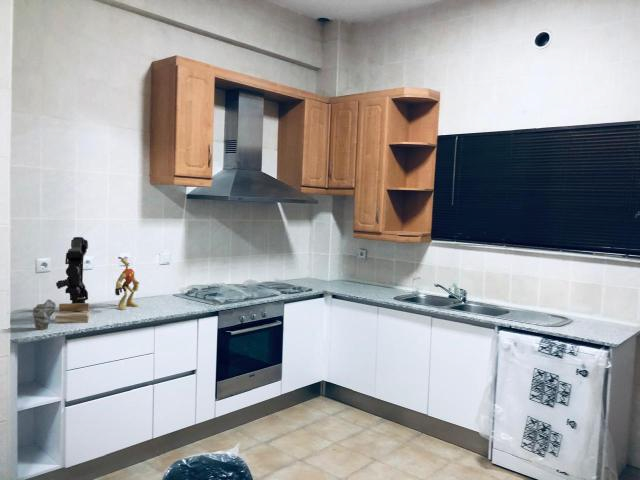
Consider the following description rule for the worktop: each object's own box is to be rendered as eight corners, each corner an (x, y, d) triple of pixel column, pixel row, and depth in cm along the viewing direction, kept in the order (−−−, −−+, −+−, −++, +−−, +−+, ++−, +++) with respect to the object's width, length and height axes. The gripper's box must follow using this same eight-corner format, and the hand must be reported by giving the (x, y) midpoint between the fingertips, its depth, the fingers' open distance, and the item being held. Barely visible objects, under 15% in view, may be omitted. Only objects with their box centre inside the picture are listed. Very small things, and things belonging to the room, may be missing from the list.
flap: (59, 311, 278) (59, 310, 279) (88, 310, 282) (88, 310, 283) (59, 304, 277) (59, 303, 277) (88, 303, 281) (88, 303, 282)
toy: (120, 312, 299) (121, 259, 297) (107, 311, 301) (107, 258, 299) (142, 305, 322) (143, 255, 320) (129, 304, 324) (130, 255, 321)
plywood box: (58, 319, 278) (58, 311, 278) (89, 318, 283) (89, 310, 283) (55, 323, 269) (55, 315, 268) (87, 322, 274) (87, 314, 273)
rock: (31, 327, 259) (31, 296, 258) (43, 325, 264) (43, 295, 263) (43, 331, 252) (43, 300, 251) (55, 329, 256) (55, 299, 255)
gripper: (59, 271, 285) (59, 300, 286) (54, 277, 267) (54, 307, 268) (82, 271, 288) (82, 300, 290) (78, 277, 271) (78, 307, 272)
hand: (74, 303), depth 280 cm, fingers closed, pressing on flap
